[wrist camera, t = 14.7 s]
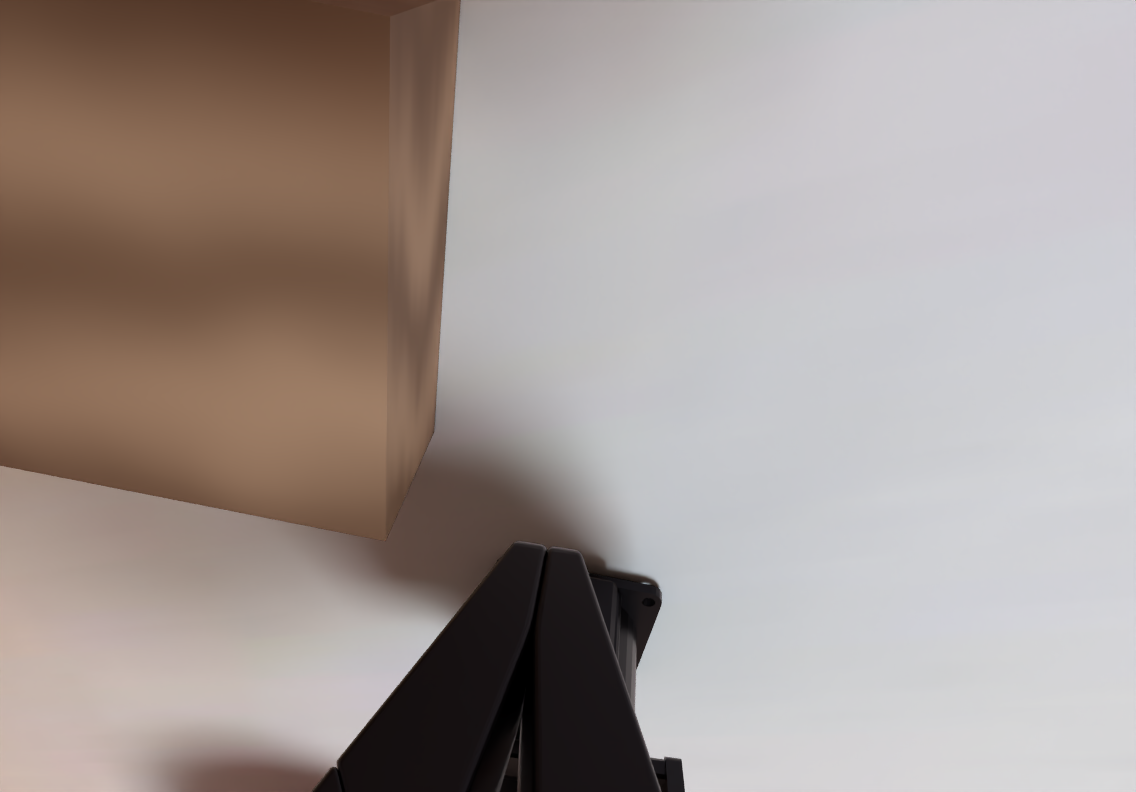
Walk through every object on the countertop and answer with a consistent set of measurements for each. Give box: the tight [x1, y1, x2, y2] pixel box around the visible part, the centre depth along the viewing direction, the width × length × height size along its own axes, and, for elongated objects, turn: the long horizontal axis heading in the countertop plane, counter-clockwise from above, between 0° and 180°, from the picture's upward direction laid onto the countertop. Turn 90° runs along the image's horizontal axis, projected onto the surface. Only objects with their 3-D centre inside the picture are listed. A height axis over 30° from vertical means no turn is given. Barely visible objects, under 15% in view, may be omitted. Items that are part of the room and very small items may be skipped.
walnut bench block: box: [0, 0, 460, 541], centre depth 17 cm, size 13×12×5 cm
